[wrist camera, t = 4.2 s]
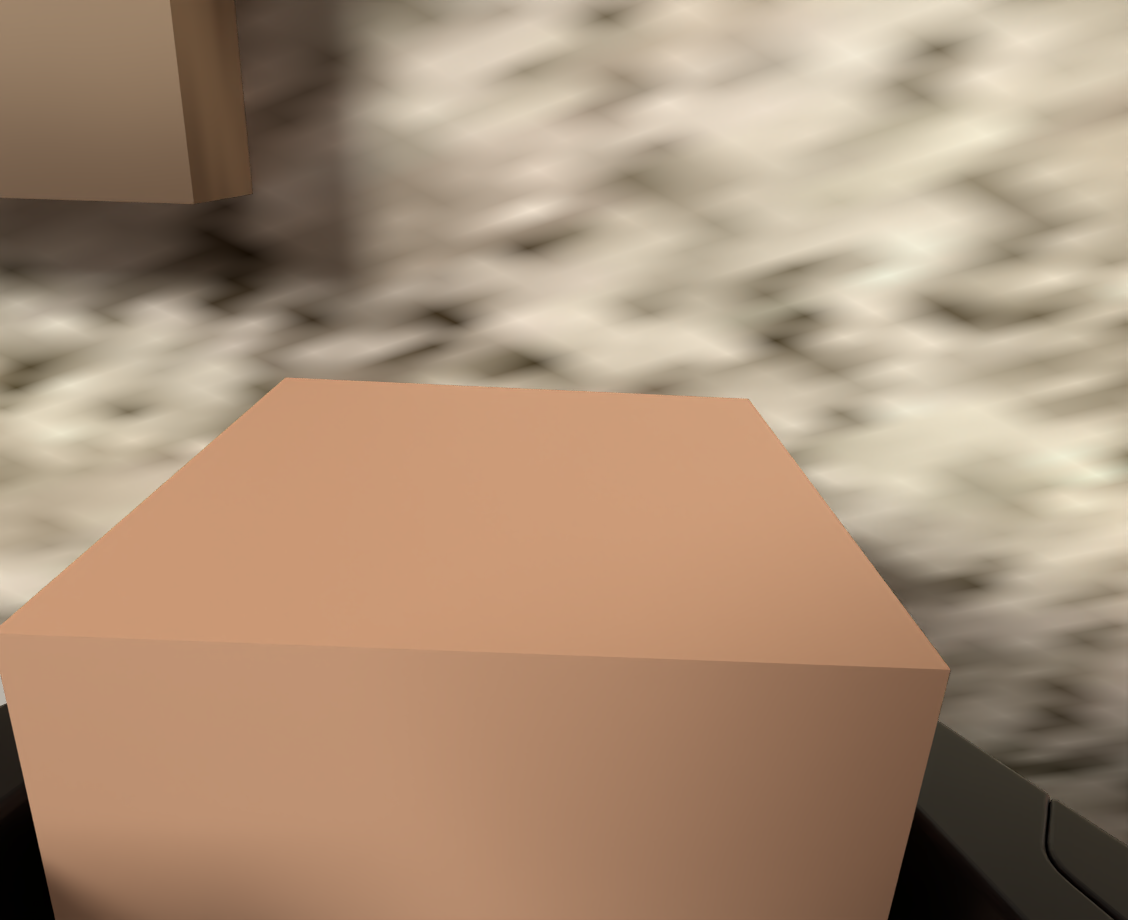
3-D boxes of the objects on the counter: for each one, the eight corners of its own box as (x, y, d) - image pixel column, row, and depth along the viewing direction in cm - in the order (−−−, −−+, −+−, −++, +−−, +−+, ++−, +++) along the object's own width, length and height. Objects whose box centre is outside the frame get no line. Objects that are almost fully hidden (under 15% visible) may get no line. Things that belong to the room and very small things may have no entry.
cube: (699, 767, 11) (805, 1240, 6) (311, 754, 11) (123, 1225, 6) (748, 399, 9) (950, 669, 4) (285, 378, 9) (-8, 632, 4)
